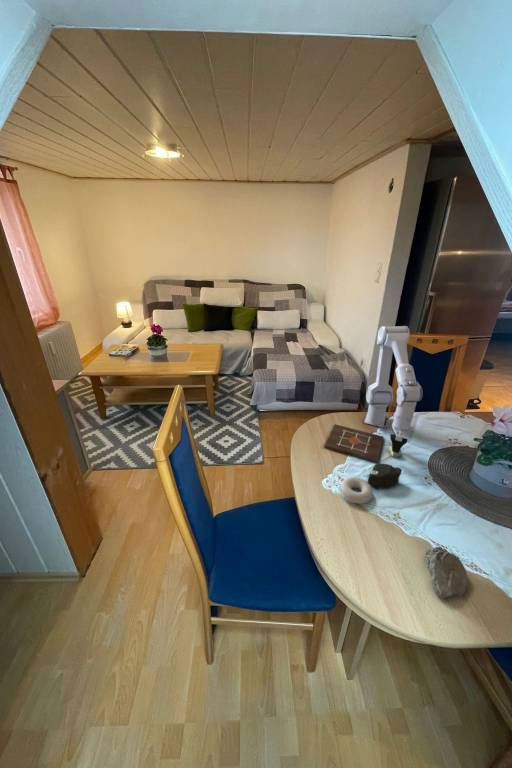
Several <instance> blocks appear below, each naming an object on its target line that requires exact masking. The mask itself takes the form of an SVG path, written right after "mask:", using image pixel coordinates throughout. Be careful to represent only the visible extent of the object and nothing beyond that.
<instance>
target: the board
mask: <svg viewBox="0 0 512 768" xmlns="http://www.w3.org/2000/svg"><path fill="white" fill-rule="evenodd" d="M383 440H384V436H382V435H379V434H375V433H371V432H367V431H363V430H359V429H356V428H351V427H347V426H345V425H344V426H343V425H339V424H336V423H335V424H334V425H333V427H332V430H331V432H330V434H329V436H328V437H327V440H326V442H325V444H324V448H325V449H328V450H332V451H335V452H339V453H342V454H346V455H348V456H352V457H355V458H359V459H362V460H366V461H369V462H373V463H376V464H379V463H378V462H379V458H380V453H381V450H382V445H383Z"/></svg>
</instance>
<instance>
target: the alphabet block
mask: <svg viewBox="0 0 512 768" xmlns="http://www.w3.org/2000/svg"><path fill="white" fill-rule="evenodd" d="M388 453H389V454H390V456H391V457H392V458H397V457H401V455H402V449H401V450H400V451H399V453H396V452H393V451H392V445H389V449H388Z"/></svg>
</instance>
